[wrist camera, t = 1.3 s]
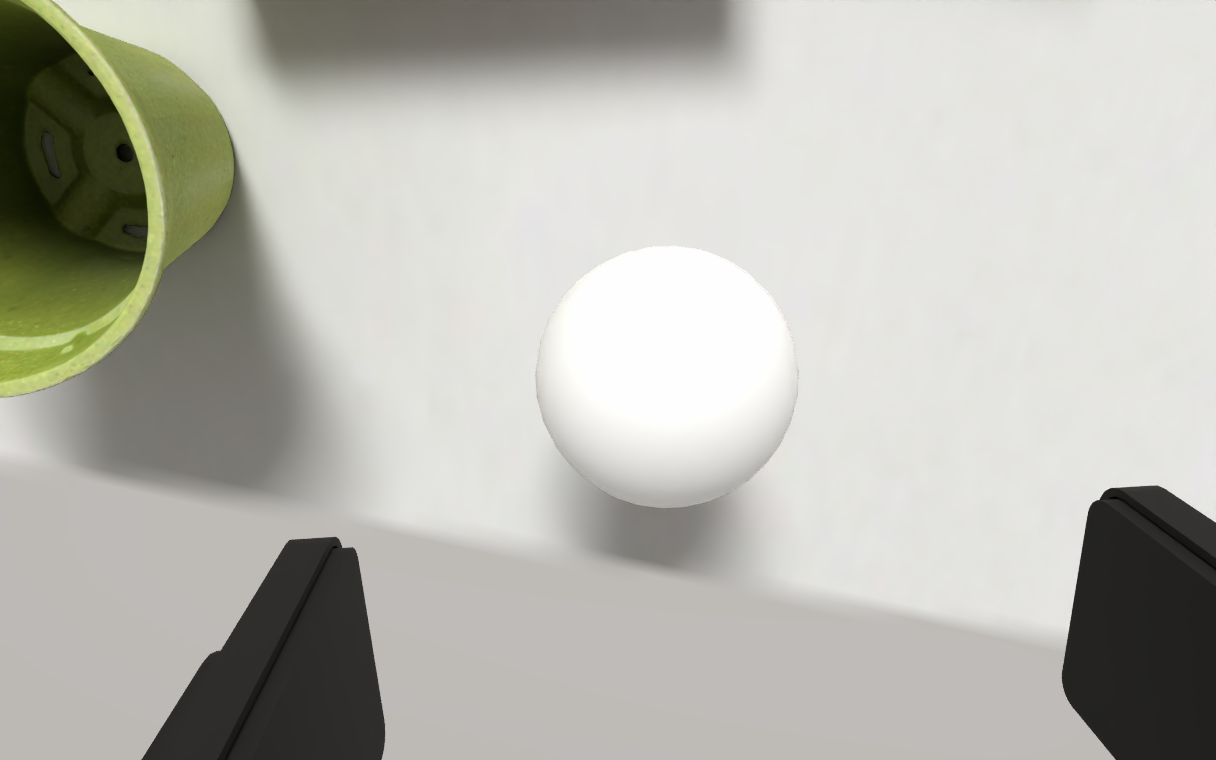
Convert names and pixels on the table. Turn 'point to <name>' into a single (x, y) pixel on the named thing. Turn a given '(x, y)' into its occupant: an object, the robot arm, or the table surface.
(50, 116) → the plant pot
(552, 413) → the lightbulb
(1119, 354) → the table surface
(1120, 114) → the table surface
